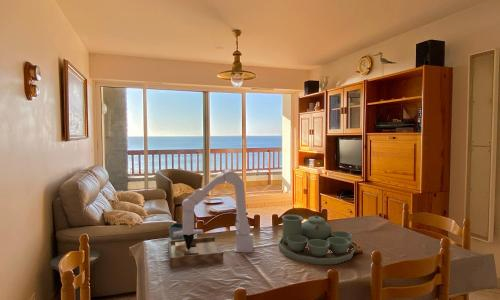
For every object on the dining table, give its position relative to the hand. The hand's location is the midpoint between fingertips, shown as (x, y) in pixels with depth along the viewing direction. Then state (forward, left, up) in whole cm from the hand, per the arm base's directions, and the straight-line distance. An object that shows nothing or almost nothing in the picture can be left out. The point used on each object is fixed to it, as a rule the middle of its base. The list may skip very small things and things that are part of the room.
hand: (188, 248), depth 158 cm
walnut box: (-3, -1, -3) cm, 5 cm away
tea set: (-66, -13, -4) cm, 68 cm away
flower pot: (+11, -21, -4) cm, 24 cm away
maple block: (+4, +1, -1) cm, 4 cm away
